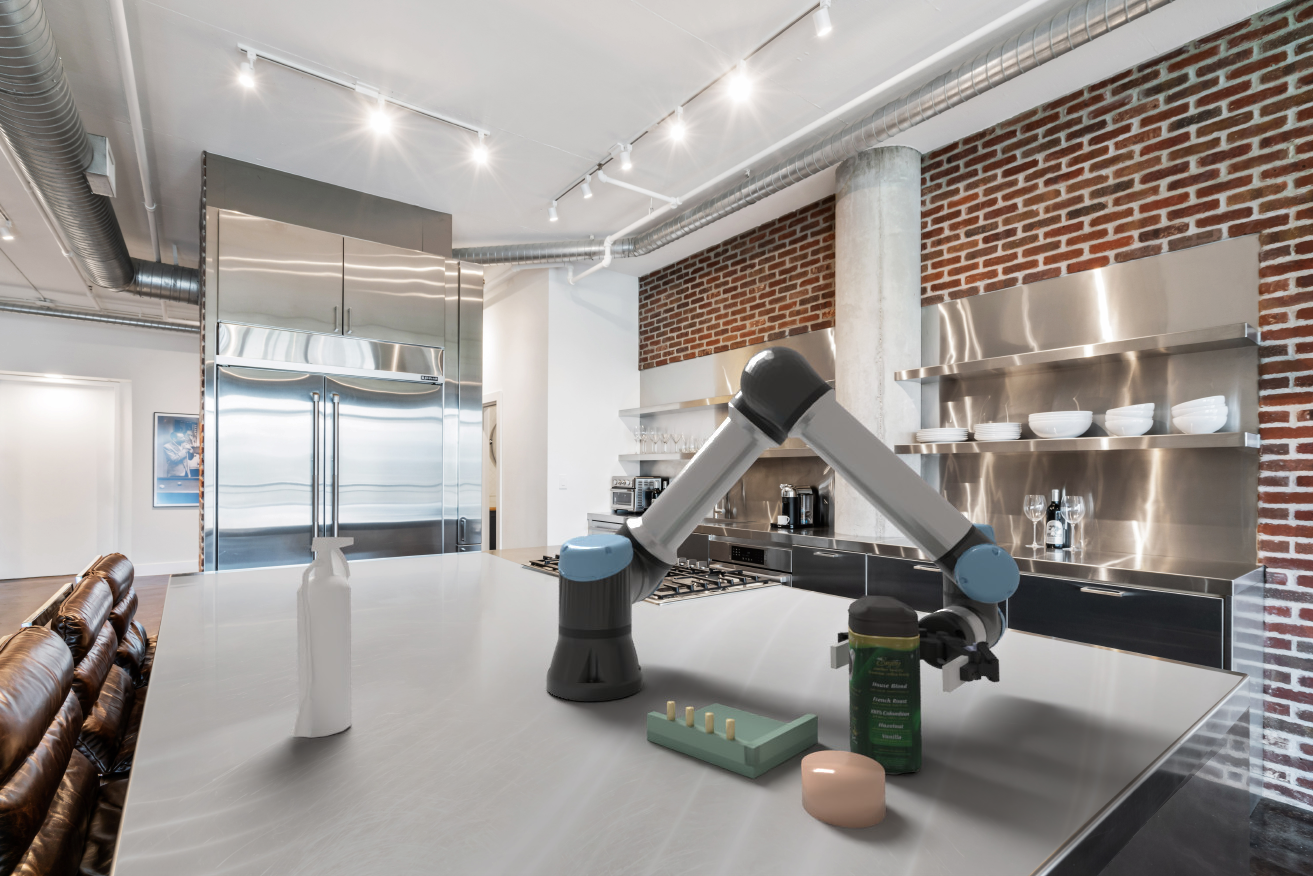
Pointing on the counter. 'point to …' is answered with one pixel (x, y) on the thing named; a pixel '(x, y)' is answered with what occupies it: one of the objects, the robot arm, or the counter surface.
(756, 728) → the header tray
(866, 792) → the peach soap bar
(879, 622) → the coffee jar
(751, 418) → the robot arm
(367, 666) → the counter surface
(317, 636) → the white spray bottle
